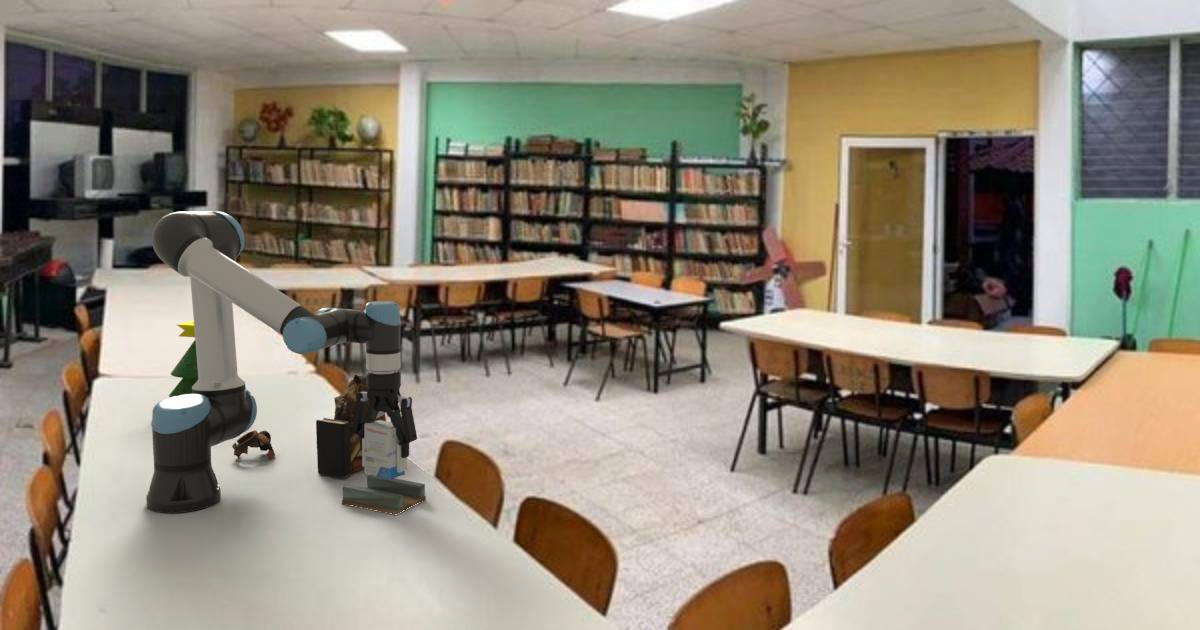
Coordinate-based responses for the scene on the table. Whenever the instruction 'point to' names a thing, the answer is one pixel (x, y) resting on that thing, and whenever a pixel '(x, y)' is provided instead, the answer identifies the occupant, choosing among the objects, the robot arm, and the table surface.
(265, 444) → the brown carved ornament
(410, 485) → the track
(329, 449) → the bookend
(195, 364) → the decorative tree
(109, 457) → the table surface
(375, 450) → the ink box
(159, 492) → the robot arm
